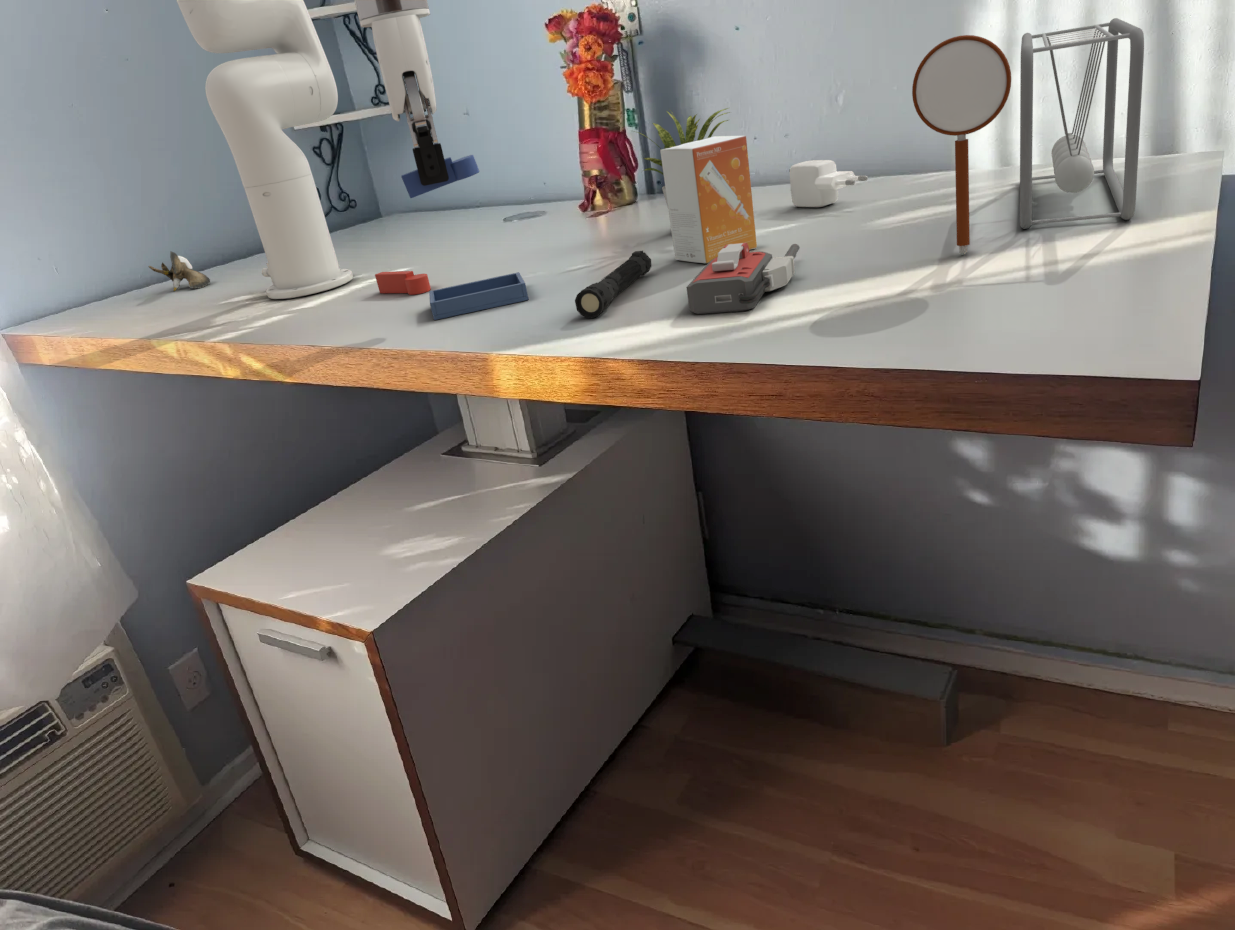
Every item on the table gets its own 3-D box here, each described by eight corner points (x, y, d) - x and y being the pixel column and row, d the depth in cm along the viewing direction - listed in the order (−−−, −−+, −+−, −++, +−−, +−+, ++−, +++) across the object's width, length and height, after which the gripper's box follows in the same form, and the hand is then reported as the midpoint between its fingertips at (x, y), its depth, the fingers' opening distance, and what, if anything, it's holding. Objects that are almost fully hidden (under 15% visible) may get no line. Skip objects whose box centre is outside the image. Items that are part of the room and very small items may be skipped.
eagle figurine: (145, 289, 157) (167, 279, 151) (150, 249, 158) (173, 237, 152) (189, 301, 163) (213, 292, 157) (194, 262, 164) (218, 252, 158)
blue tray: (434, 320, 105) (429, 303, 104) (433, 307, 111) (429, 291, 110) (528, 299, 106) (525, 282, 105) (522, 288, 112) (519, 271, 111)
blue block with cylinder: (410, 199, 105) (400, 176, 103) (410, 196, 107) (401, 174, 106) (480, 172, 105) (471, 149, 104) (478, 170, 108) (470, 148, 107)
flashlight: (577, 319, 94) (572, 290, 93) (630, 276, 108) (626, 251, 107) (604, 317, 93) (599, 288, 92) (655, 274, 107) (651, 248, 106)
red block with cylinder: (375, 295, 124) (370, 276, 123) (391, 288, 126) (386, 270, 125) (419, 294, 119) (414, 275, 118) (435, 288, 121) (430, 268, 120)
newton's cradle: (1135, 223, 91) (1146, 27, 84) (1019, 233, 95) (1020, 47, 88) (1111, 171, 116) (1118, 16, 109) (1021, 181, 120) (1021, 32, 113)
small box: (706, 265, 107) (691, 148, 101) (674, 260, 112) (658, 149, 107) (759, 247, 110) (747, 133, 105) (725, 244, 115) (712, 135, 110)
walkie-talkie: (775, 312, 84) (806, 258, 101) (770, 264, 82) (803, 218, 99) (683, 319, 87) (728, 266, 104) (676, 273, 86) (723, 226, 102)
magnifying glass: (916, 259, 93) (908, 44, 85) (919, 255, 94) (912, 43, 86) (1009, 253, 89) (1010, 27, 81) (1011, 249, 90) (1012, 26, 82)
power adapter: (874, 202, 124) (871, 156, 122) (850, 210, 122) (847, 164, 119) (811, 200, 133) (808, 158, 130) (788, 208, 130) (784, 165, 128)
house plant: (771, 213, 129) (758, 89, 123) (727, 237, 119) (711, 103, 113) (682, 219, 137) (666, 102, 131) (634, 242, 127) (614, 117, 120)
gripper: (361, 18, 105) (403, 183, 112) (352, 5, 91) (401, 195, 98) (426, 6, 106) (464, 171, 113) (427, -8, 92) (471, 181, 99)
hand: (435, 181), depth 106 cm, fingers closed on blue block with cylinder, 1 cm apart
